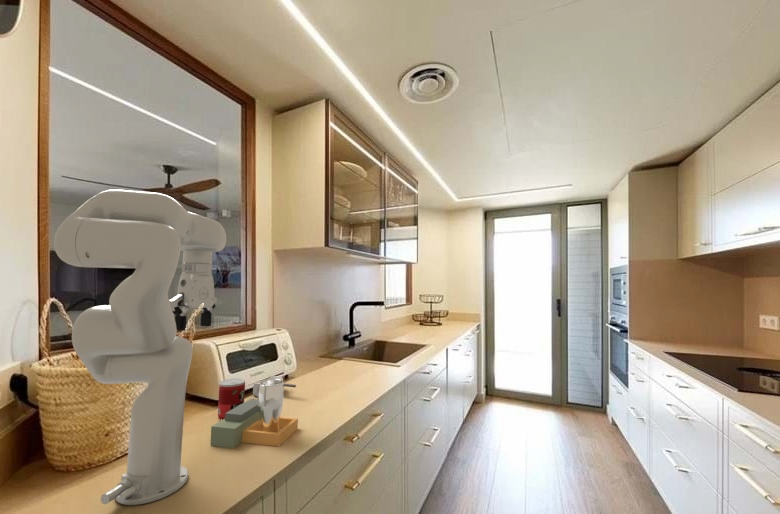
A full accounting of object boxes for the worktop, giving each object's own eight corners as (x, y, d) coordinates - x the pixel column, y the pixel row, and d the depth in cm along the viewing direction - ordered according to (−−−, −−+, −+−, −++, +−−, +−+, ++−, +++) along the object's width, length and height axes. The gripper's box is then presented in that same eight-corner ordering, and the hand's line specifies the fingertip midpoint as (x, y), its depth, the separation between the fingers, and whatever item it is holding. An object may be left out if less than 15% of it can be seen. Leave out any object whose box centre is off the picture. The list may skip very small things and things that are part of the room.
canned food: (233, 421, 103) (235, 385, 104) (211, 419, 105) (213, 383, 106) (248, 412, 111) (250, 379, 112) (228, 410, 112) (229, 377, 113)
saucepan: (283, 405, 117) (283, 389, 118) (245, 396, 127) (245, 381, 127) (305, 396, 128) (305, 381, 128) (268, 388, 137) (269, 374, 137)
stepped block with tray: (271, 452, 84) (272, 424, 85) (210, 445, 88) (211, 418, 88) (305, 421, 104) (306, 398, 104) (254, 416, 107) (255, 394, 108)
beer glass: (287, 434, 94) (289, 381, 96) (266, 444, 89) (268, 387, 90) (272, 428, 98) (274, 377, 100) (251, 437, 93) (253, 383, 94)
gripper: (184, 268, 88) (180, 332, 87) (227, 271, 105) (224, 325, 104) (161, 268, 90) (156, 331, 88) (207, 271, 107) (204, 324, 105)
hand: (193, 327), depth 96 cm, fingers open, 9 cm apart
